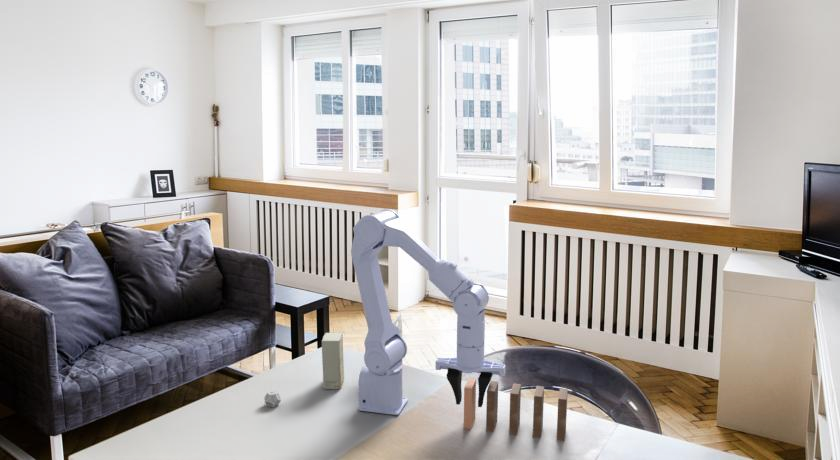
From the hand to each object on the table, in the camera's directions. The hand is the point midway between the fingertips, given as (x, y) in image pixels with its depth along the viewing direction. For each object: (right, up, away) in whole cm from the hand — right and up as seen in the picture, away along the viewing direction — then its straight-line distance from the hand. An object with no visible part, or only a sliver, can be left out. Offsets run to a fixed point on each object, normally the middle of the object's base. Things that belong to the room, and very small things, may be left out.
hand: (469, 403), depth 141 cm
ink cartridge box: (-18, +1, +27) cm, 33 cm away
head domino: (0, -4, +1) cm, 4 cm away
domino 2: (+9, -5, -2) cm, 11 cm away
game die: (-44, -3, +9) cm, 45 cm away
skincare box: (-31, -1, +20) cm, 37 cm away
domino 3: (+14, -5, -3) cm, 15 cm away
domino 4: (+18, -5, -4) cm, 20 cm away
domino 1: (+5, -5, 0) cm, 7 cm away
